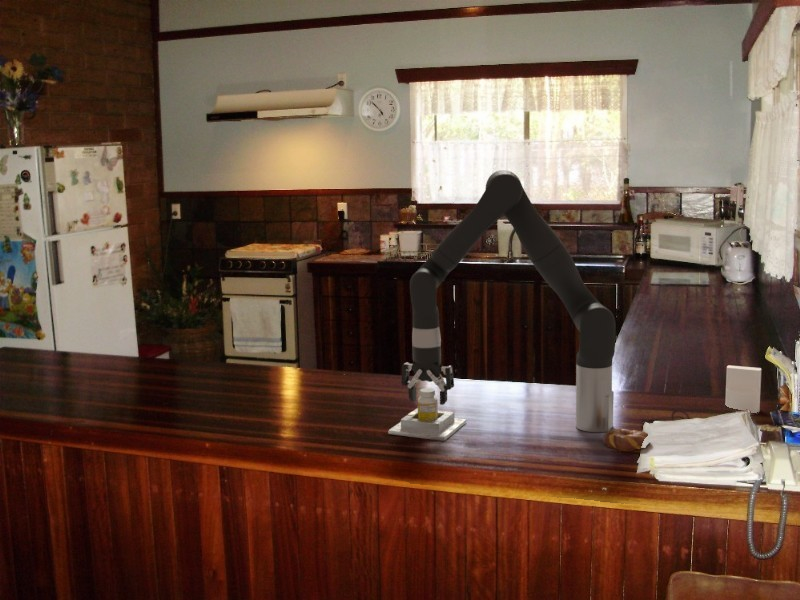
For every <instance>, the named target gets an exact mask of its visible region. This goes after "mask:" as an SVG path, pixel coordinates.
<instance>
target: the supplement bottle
mask: <svg viewBox="0 0 800 600" xmlns="http://www.w3.org/2000/svg"><path fill="white" fill-rule="evenodd" d="M419 395H420V396H419V397H418V398H417V408H418V419H422V420H431V421H436V420H437V419H438V410H439V409H438V406H439V403H438V402H439V400H438V398H437V397H436V396H435V395H436V389H434V388H431V387H427V388H425V387H424V388H420V389H419Z"/></svg>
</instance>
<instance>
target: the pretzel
mask: <svg viewBox="0 0 800 600" xmlns="http://www.w3.org/2000/svg"><path fill="white" fill-rule="evenodd" d="M648 434H649V433H648V432H645V431H642V430H641V431H640V430H637V429H632V430H630V429H629V428H619V429H618V428H617V429H616V428H613V429H610V431H609V432H605V434H604V436H603V438H602V440H603V444H604V445H605V446H606V447H607V448H610V449H615V450H618V451H621V452H631V451H635V450H636V449H639V450H641V446H642V443H643V441H644V439H645V438H646V437H647V436H648Z"/></svg>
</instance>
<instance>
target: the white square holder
mask: <svg viewBox="0 0 800 600" xmlns="http://www.w3.org/2000/svg"><path fill="white" fill-rule="evenodd" d="M466 424H467V419H466V418H457V417H455V411H446V410H439V409H438V419H437V420H436V421H431V420H422V419H418V407H417V408H415V409H414V410H412V411H410V412H409V413H407V415H405V416H404V417H402V418H401V419H400V422H398V423H397V424H395V425H394V426H392V427H391V428H390V429H389V430H388V435H393V436H394V435H395V436H402V437H403V436H404V437H409V438H418V439H419V438H420V439H428V440H433V441H434V440H435V441H442V442H443V441H444V442H445V441H447V440H448V439H449V438H450V437H452V435H453V434H455V433H456V432H457V431H458V430H460V429H461V428H462V427H464V425H466Z"/></svg>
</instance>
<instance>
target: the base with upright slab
mask: <svg viewBox="0 0 800 600" xmlns="http://www.w3.org/2000/svg"><path fill="white" fill-rule="evenodd" d="M725 380H726V381H725V384H726V385H725V405H726V406H727V407H729V408H733V409H738V410H746V409H748V410H750V411H751V413H756V414H758V413H759V412H760V410H761V409H760V405H761V403H760V402H761V386H762V385H761V384H762V368H761V367H753V366H751V367H750V366H743V365H742V366H740V365H729V364H728V365H727V366H726V379H725ZM725 405H724V406H725ZM757 412H758V413H757Z"/></svg>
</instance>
